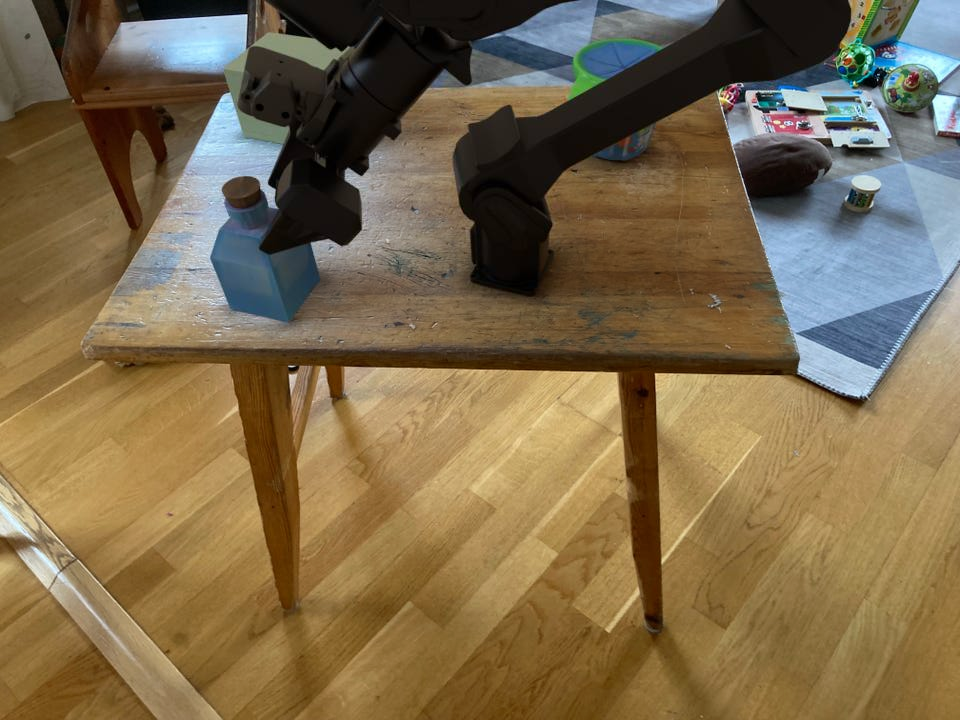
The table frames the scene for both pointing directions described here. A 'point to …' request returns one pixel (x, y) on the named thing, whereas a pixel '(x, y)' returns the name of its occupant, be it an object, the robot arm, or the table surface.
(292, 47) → the cabinet
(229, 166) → the table surface
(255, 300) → the perfume bottle
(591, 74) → the snack cup
